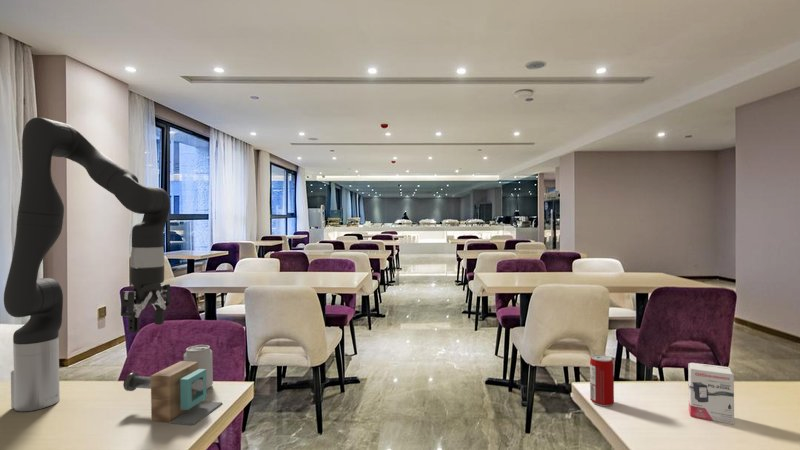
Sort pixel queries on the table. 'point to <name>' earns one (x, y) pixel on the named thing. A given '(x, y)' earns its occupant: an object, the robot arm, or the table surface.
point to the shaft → (137, 381)
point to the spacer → (186, 389)
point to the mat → (196, 413)
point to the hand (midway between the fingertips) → (147, 328)
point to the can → (201, 360)
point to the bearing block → (169, 391)
